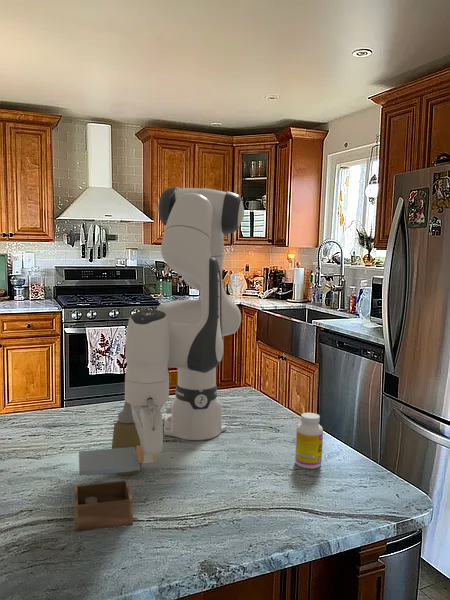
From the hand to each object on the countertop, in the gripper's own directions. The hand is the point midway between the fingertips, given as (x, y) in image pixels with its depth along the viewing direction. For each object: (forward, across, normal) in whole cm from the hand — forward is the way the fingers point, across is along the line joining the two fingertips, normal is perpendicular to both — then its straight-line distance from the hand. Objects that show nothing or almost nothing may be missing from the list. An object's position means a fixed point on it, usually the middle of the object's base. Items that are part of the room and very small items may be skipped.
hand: (146, 456), depth 108 cm
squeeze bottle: (+12, +19, +2) cm, 23 cm away
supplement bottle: (+12, +14, -43) cm, 47 cm away
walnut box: (+12, -1, +9) cm, 14 cm away
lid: (+1, 0, +6) cm, 6 cm away
